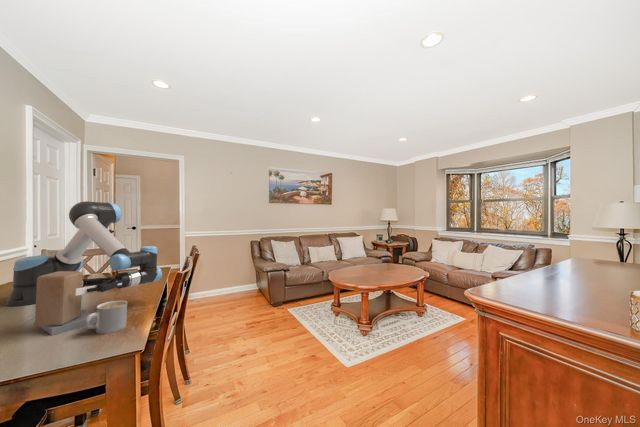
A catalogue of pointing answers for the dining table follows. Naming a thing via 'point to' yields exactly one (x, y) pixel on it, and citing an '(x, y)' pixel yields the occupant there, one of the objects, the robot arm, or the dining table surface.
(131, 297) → the dining table surface
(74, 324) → the stand
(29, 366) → the dining table surface
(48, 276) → the block
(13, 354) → the dining table surface
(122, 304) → the coffee mug
